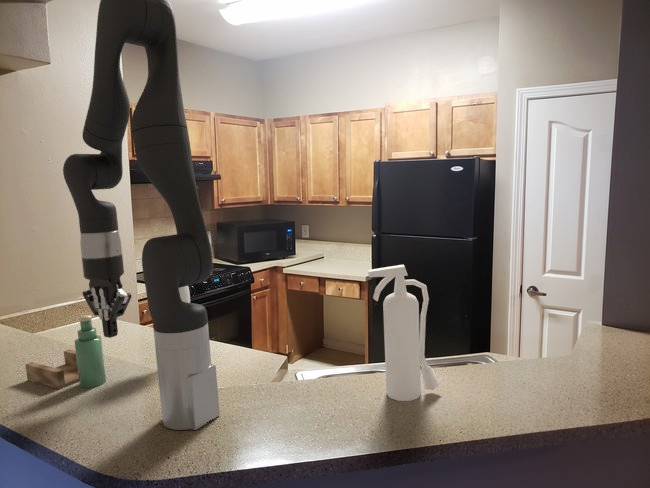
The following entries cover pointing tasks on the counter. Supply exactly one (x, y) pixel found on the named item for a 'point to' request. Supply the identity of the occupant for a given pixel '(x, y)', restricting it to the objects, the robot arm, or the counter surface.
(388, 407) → the counter surface
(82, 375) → the bottle
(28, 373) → the brown wooden u-shaped block
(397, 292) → the fire extinguisher
